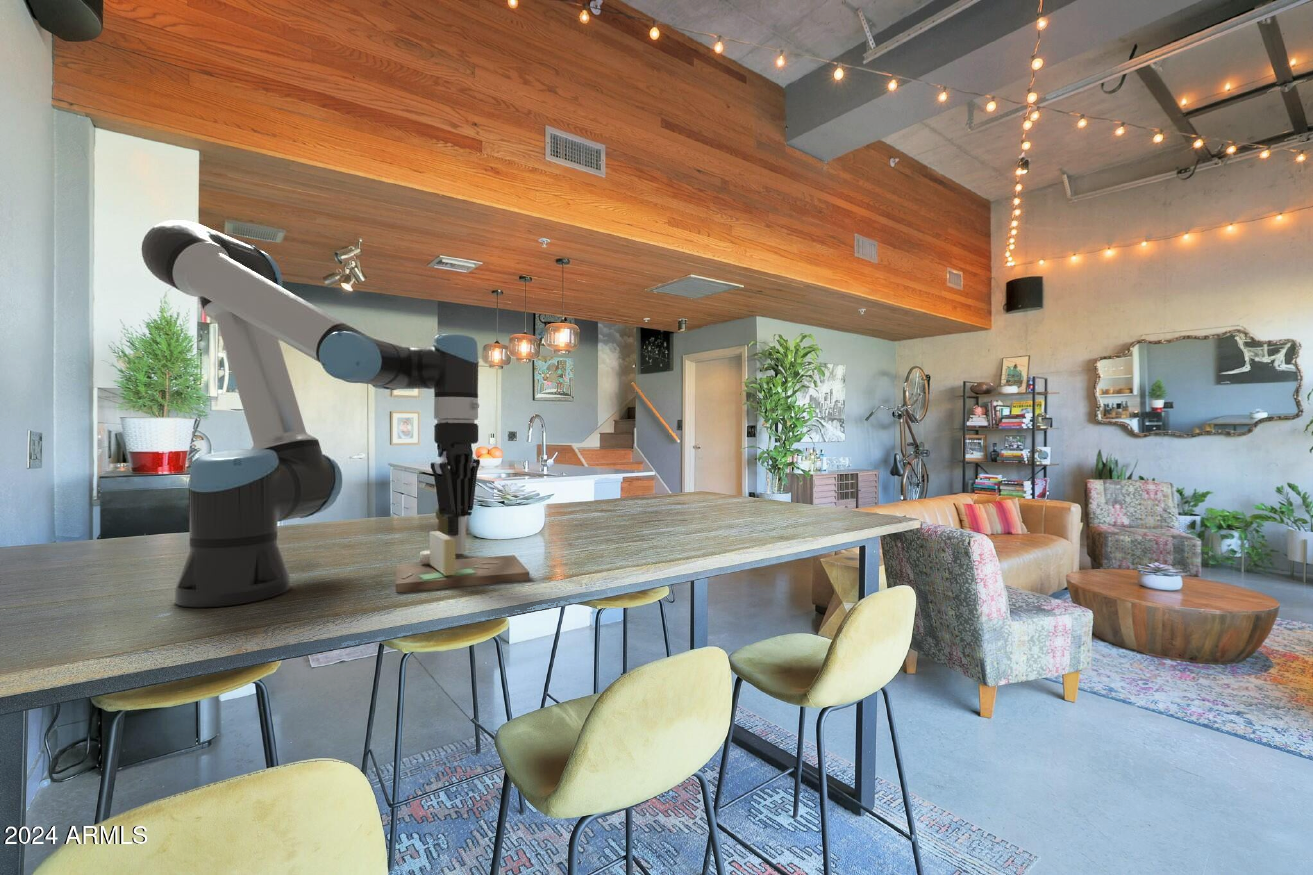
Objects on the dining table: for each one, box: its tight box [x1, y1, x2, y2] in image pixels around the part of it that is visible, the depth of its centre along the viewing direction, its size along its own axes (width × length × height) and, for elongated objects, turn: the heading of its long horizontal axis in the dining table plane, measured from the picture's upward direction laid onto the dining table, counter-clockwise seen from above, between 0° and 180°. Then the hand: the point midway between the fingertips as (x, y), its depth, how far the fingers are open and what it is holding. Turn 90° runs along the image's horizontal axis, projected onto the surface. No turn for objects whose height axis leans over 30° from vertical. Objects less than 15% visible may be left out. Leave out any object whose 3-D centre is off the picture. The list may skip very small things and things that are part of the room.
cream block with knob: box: [419, 530, 456, 576], centre depth 107 cm, size 15×4×6 cm, turn 35°
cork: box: [435, 506, 464, 558], centre depth 127 cm, size 6×6×11 cm
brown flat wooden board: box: [395, 554, 530, 594], centre depth 109 cm, size 22×16×2 cm
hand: (456, 552), depth 106 cm, fingers closed
